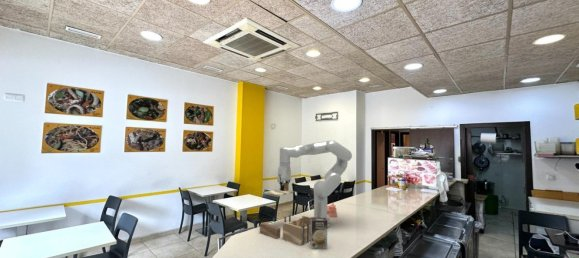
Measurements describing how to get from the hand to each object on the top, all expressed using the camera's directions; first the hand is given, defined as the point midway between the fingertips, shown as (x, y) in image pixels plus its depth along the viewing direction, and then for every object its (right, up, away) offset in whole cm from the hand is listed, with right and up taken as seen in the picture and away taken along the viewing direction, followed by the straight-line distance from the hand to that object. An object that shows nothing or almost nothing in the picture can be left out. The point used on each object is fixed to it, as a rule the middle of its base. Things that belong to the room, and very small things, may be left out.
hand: (284, 189), depth 173 cm
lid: (-4, -1, -4) cm, 6 cm away
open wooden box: (+11, -25, -21) cm, 34 cm away
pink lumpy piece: (+38, -28, +30) cm, 56 cm away
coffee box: (+20, -24, -35) cm, 47 cm away
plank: (-9, -25, -18) cm, 32 cm away
